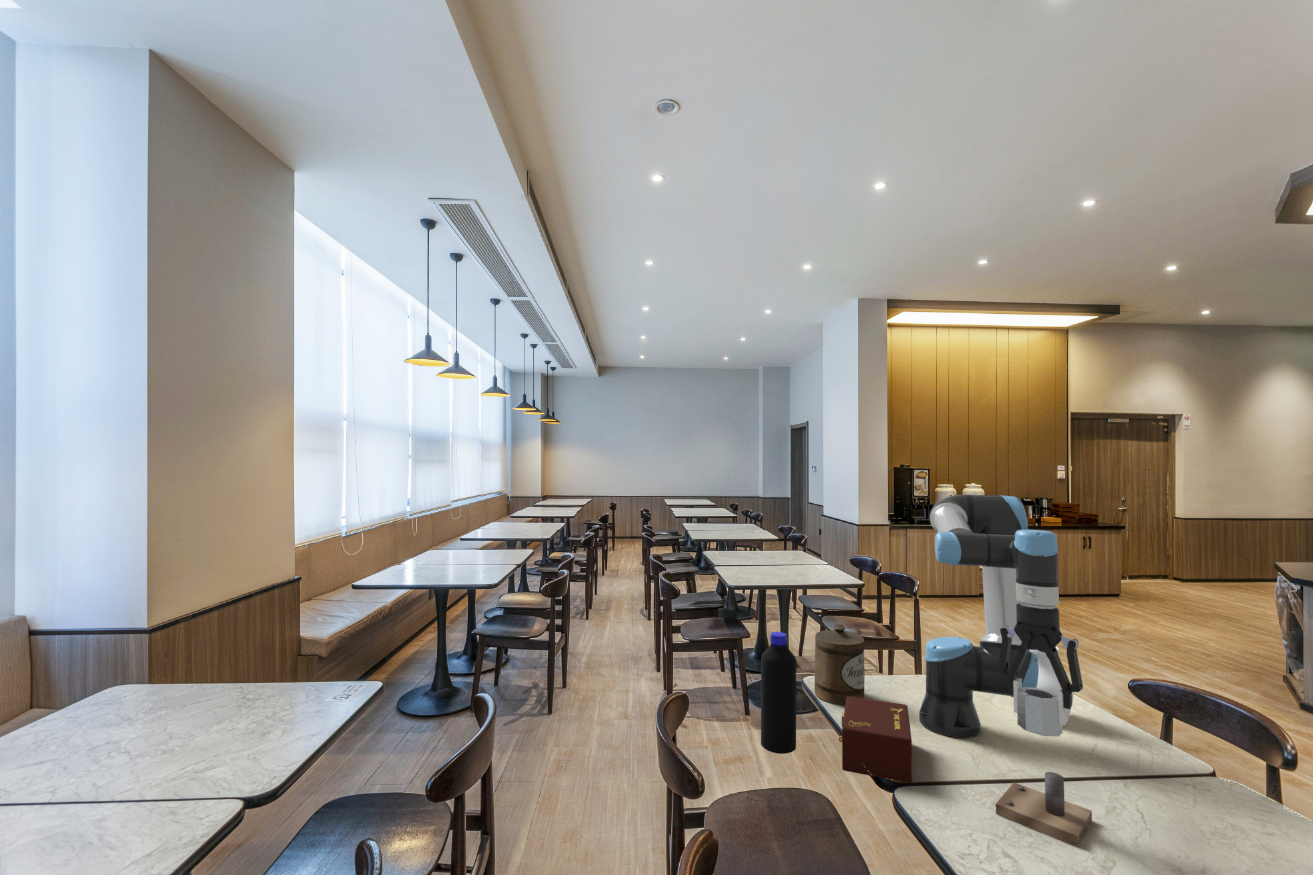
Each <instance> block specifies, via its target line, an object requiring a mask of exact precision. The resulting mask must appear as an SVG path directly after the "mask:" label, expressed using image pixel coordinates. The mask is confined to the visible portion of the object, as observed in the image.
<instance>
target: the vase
mask: <svg viewBox="0 0 1313 875" xmlns="http://www.w3.org/2000/svg"><path fill="white" fill-rule="evenodd" d="M1055 647H1056V649H1057V651H1058V656H1059V655H1060V648H1059V647H1058V646H1057V645H1056V646H1055ZM1030 652H1033V653H1035V654H1036V655H1037V658H1038V665H1039V674H1038V683H1037V687H1036V688H1039V689H1043V690H1047V691H1051V692H1054V693H1055V694H1057V695H1058V691H1059V690H1060V689H1062V688H1061V686H1060V684H1059V681H1058V679H1057V677H1056V675H1055V672H1054V670H1053V668H1052V665H1051V663H1050V661H1049V658H1048V657H1047V656H1046V653H1045V652H1041V651H1038V650H1030ZM1074 694H1075V692H1072V704H1073V703H1074V696H1075V695H1074ZM1071 710H1072V707H1071V708H1070V709H1066V713H1067V723H1066V724H1065V725H1064V726H1066V725H1068V724H1069V722H1070V714H1071Z"/></svg>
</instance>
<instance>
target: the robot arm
mask: <svg viewBox="0 0 1313 875" xmlns="http://www.w3.org/2000/svg"><path fill="white" fill-rule="evenodd" d="M929 522H930V524H931V527H932V528H933V530H934V531H936V532H937V533H936V535H935V538H934V551H935V559H936V561H937V562H938V563H939V564H946V565H951V566H971V567H981V570H982V586H983V587H982V588H983V606H984V626H985V627H984V629H985V634H984V635H983V636H981V638H979V646H975V645H973V643H972V641H971V640H970V639H967V638H964V637H963V638H962V637H957V636H940V637H935V638H933V639H932V638H931V639H930V640H928V642H927V643H926V645H925V656H924V660H925V694H924V697H923V700H922V704H921V706H920V708H919V711H918V714H919V715H918V716H919V717H918V718H919V722H920V724H921V725H922V726H923V727H925V728H926V729H928V730H930V731H932V732H934V733H936V734H938V735H939V734H940V735H944V736H947V737H952V738H958V739H959V738H962V739H966V738H968V739H970V738H973V737H977V736H978V735H980V734H981V732H982V731H981V730H982V728H981V721H980V717H979V715H978V712H977V710H976V706H975V703H974V698H973V697H974V692H979V693H983V694H984V693H985V694H991V695H992V694H993V695H999V696H1000V695H1001V696H1007V697H1008V696H1009V697H1010V698H1013V713H1016V714H1017V690H1019V689H1020V688H1021V687H1030V688H1036V687H1037V683H1038V674H1039V665H1038V658H1037V655H1036V654H1035V653H1033V652H1030V650H1038V651H1041V652H1045V653H1046V656H1047V657H1048V658H1049V661H1050V663H1051V665H1052V668H1053V670H1054V672H1055V675H1056V677H1057V679H1058V681H1059V684H1060V686H1061V688H1062V689H1060V690H1059V691H1058V722H1059V725H1061V726H1062V727H1064V726H1066V725H1067V724H1066V723H1067V713H1066V709H1070V708H1071V709H1072V707H1073V703H1072V692H1073V693H1080V692H1081V691H1082V690H1083V689H1084V685H1083V680H1082V674H1081V668H1080V662H1079V657H1078V648H1079V640H1078V639H1077V638H1069V637H1067V636H1064V635H1063V633H1062V632H1061V629H1060V627H1061V626H1060V609H1058V608H1059V607H1058V606H1059V605H1060V598H1059V597H1060V596H1059V563H1058V562H1059V560H1058V559H1059V556H1058V555H1059V554H1058V553H1059V546H1058V538H1057V535H1056V533H1055V532H1053V531H1049V530H1041V529H1029V524H1028V522H1029V521H1028V518H1027V512H1026V510H1025V507H1024V503H1023V502H1022V501H1021V500H1020V498H1018V497H1017V496H1011V495H1010V496H1009V495H1002V494H999V495H997V494H996V495H995V494H991V495H990V494H962V493H961V494H954V495H951V496H946V497H944V498H942V499H941V500H939V501H938V502H936V503H935V504H934V505H933V506H932V508H931V510H930V512H929ZM1060 642H1061V643H1062V644H1063V645H1062V646H1063V648H1064V649H1065V650H1066V659H1067V666H1068V669H1069V675H1070V679H1069V676H1068V674H1067V671H1066V670H1065V667H1064V665H1063V663H1062V661H1061V658H1060V656H1059V655H1058V651H1057V649H1056V647H1057V645H1058V644H1060ZM1055 646H1056V647H1055ZM1070 680H1071V681H1070ZM1065 724H1066V725H1065Z"/></svg>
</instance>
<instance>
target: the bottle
mask: <svg viewBox="0 0 1313 875" xmlns="http://www.w3.org/2000/svg"><path fill="white" fill-rule="evenodd" d="M769 636H770V637H769V643H770V644H769V646H768V647H767V648H766V649H765V650H764V651H763V653H762V654H761V657H760V659H761V660H760V666H761V667H760V690H761V691H760V745H761V747H763V749H765V750H766V751H768V752H770V753H773V754H779V755H782V754H785V755H786V754H791V753H793V752H795V750H796V748H797V658H796V655H795V654H794V653H793V652H792V651H791V650H790V649H789V647H788V637H787V633H785V632H782V631H772V632H770V635H769Z"/></svg>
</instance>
